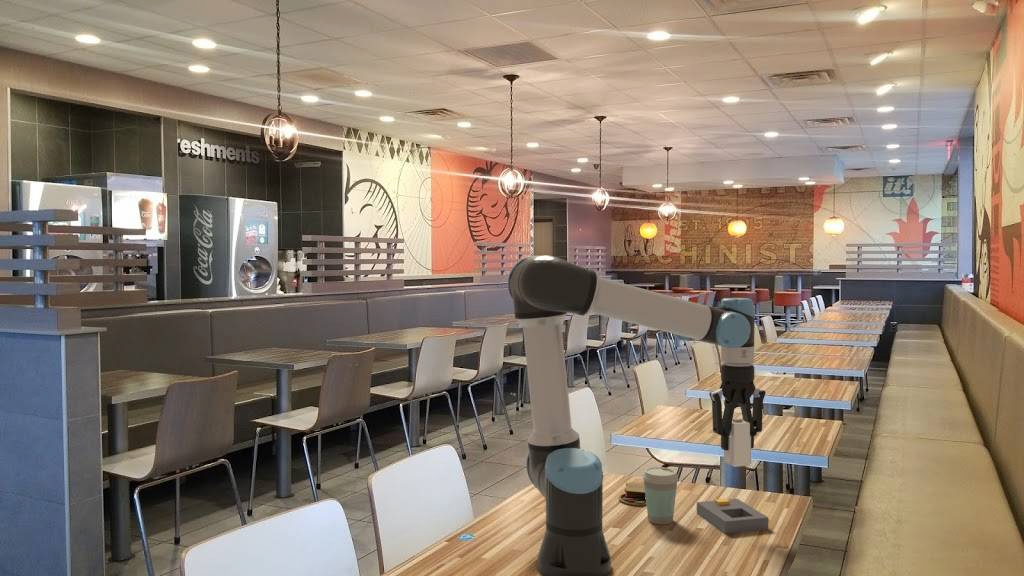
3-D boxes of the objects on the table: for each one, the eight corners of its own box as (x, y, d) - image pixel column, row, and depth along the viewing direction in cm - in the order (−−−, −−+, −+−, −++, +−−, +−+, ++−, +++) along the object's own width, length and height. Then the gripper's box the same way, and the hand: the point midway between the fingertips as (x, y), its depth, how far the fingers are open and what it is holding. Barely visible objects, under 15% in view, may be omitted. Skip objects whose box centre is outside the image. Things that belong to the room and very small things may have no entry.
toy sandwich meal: (615, 505, 191) (615, 491, 191) (623, 493, 201) (623, 480, 201) (652, 509, 188) (652, 495, 188) (658, 497, 197) (658, 483, 197)
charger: (734, 466, 172) (734, 421, 172) (725, 462, 176) (725, 417, 176) (749, 465, 173) (749, 420, 173) (740, 461, 177) (740, 417, 176)
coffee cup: (678, 527, 174) (679, 477, 173) (641, 525, 176) (641, 475, 175) (678, 515, 182) (678, 467, 182) (642, 513, 184) (642, 465, 183)
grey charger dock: (725, 534, 169) (725, 518, 169) (696, 514, 183) (696, 498, 183) (768, 530, 172) (768, 514, 172) (737, 510, 186) (737, 495, 185)
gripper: (711, 367, 168) (711, 469, 169) (779, 364, 172) (779, 464, 173) (696, 363, 175) (696, 461, 176) (761, 360, 179) (761, 456, 180)
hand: (737, 462), depth 175 cm, fingers closed on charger, 4 cm apart
